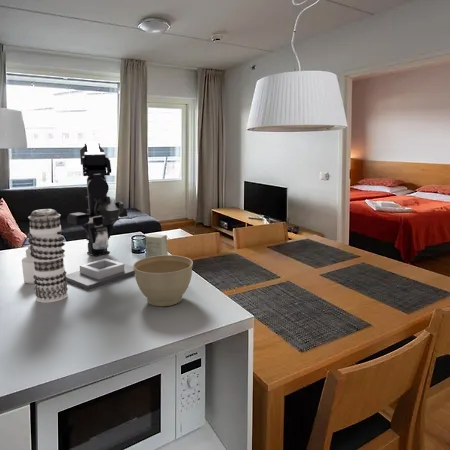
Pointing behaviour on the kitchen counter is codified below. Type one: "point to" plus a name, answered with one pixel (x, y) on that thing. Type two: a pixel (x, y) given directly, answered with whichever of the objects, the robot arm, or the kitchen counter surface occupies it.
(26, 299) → the kitchen counter surface
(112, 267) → the white tray on slab
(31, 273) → the eye dropper bottle
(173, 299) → the planter bowl
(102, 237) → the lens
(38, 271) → the white patterned cylinder
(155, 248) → the skincare box
